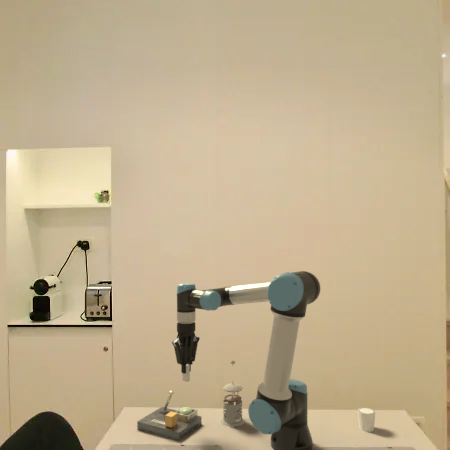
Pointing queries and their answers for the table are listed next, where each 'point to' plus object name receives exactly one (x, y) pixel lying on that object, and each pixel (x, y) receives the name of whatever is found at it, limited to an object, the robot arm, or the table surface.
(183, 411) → the push button
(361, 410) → the white cylinder
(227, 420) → the french press
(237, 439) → the table surface
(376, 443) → the table surface
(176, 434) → the panel
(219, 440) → the table surface
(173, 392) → the toggle lever
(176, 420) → the yellow cube
